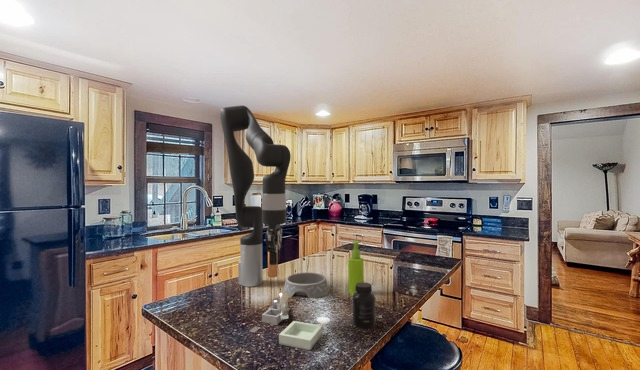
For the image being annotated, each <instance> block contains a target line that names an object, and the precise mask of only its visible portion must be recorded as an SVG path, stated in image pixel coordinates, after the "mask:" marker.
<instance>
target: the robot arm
mask: <svg viewBox="0 0 640 370" xmlns="http://www.w3.org/2000/svg"><path fill="white" fill-rule="evenodd" d="M219 117H220V118H219V119H220V124H221V128H222V129H221V130H222V133H223V137H224V141H225V145H226V150H227V158H228V165H229V167H228V168H229V174H230V179H231V183H232V184H231V185H232V190H233V196H234V209H235V218H236V219H235V220H236V224H237V226H238V227H239V228H243V229H245V228H247V229H248V228H250V229H252V228H253V230H252V232H250V233H248V234H246V235H243V236H241V237H240V238H239V239H240V240H239V241H240V242H239V243H240V246H239V248H240V252H239V253H240V257H239V258H240V260H239V261H238V262H237V263H238V264H237V265H238V267H237V268H238V271H237V273H238V274H237V276H238V277H237V278H238V282H237V283H238V285H240V286H242V287H248V288H249V287H257V286H260V285H262V284H263V229H264V227H263V225H267V226H268V227H267V230H266V234H265V235H264V241H265V245H266V253H268V252H269V263H270V265H276V264H277V245H278V262H280V250H281V247H282V243H283V242H282V241H283V239H282V238H283V228H282V227H281V225H284V224H286V223H287V197H286V178H287V176H288V175H287V174H288V171H289V167H290V163H291V158H292V157H291V155H292V154H291V151H290V149H289V147H288V146H287V145H284V144H275V143H274V140H273V138H272V137H271V136H270V135H269V134H268V133H267V132H266V131H264V129H263V128H262V127H261V126H260V124H259V122H258V120H257V118H255V116H254V114H253V113H252V111H251V110H250V108H249V107H247V106H246V105H234V106H227V107H222V108H221V109H220V112H219ZM245 130H246V132H245V140H246V143H247V145H249V147H250V148H251V149H252V150H253V151H254V155H255V157H256V161H257V163H258V164H259V165H261V166H263V167H266V168H267V167H270V168H274V171H273V173H270V174H266V175H264V176H263V177H262V198H261V206H259V205H256V206H255V205H254V206H253V205H249V206H247V205H245V204H246V203H245V200H246V196H247V194H248V192H249V190H250V188H251V186H252V185H253V182H254V180H255V172H254V165H253V164H254V163H253V161H252V159H251V158H250V156H249V154H247V152H245V151H244V150H243V148H242V147H241V146H240V145H239V143H238V142H237V139H236V137H235V132H239V131H245ZM275 241H276V242H275ZM271 246H273V248H271Z"/></svg>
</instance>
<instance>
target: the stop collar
mask: <svg viewBox="0 0 640 370" xmlns="http://www.w3.org/2000/svg"><path fill="white" fill-rule="evenodd" d="M283 320H284V319H281V318H280V315H279V312H278V309H271V308H270V309H269V310H268V309H267V310H266V311H265V312H264V313H262V314H261V323H265V324H271V325H279V324H280V323H281V322H282V321H283Z"/></svg>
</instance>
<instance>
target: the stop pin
mask: <svg viewBox="0 0 640 370" xmlns="http://www.w3.org/2000/svg"><path fill="white" fill-rule="evenodd" d="M275 242H276V241H275ZM271 248H273V246H271ZM278 266H279V265H278V245H277V264H276V265H270V263H269V252H267V277H268V278H277V277H278Z"/></svg>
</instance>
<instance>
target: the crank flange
mask: <svg viewBox="0 0 640 370" xmlns="http://www.w3.org/2000/svg"><path fill="white" fill-rule="evenodd" d="M270 308H271V309H274V308H273V304H272V305H269V307H267V310H269V309H270ZM289 312H290V306H289V305H288V313H289ZM260 329H261V327H260V326H256V325H255V326H254V327H252V328H251V329H250V330H249V332H251V333H256V332H257V331H259V330H260Z"/></svg>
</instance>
